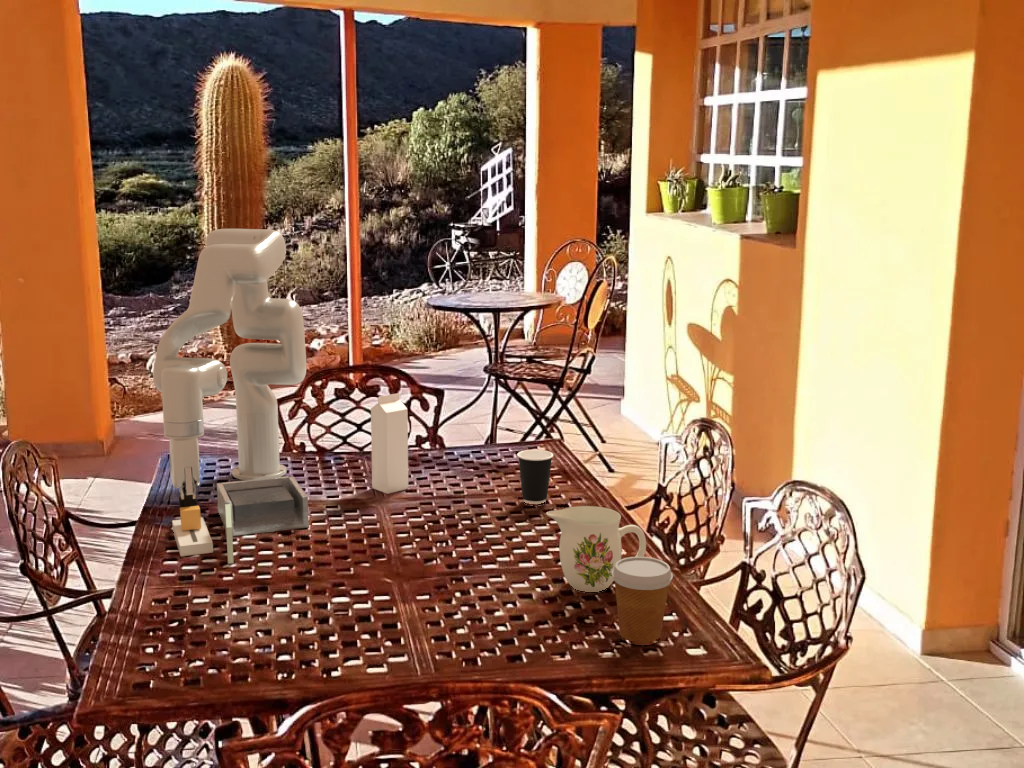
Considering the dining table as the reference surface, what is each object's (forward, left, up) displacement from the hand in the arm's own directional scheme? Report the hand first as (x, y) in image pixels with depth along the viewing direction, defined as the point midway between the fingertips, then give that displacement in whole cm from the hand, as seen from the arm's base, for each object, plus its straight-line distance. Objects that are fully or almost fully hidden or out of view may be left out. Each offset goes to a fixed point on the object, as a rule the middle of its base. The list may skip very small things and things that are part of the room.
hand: (188, 516), depth 217 cm
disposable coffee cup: (+76, +61, -4) cm, 97 cm away
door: (+13, +6, -3) cm, 15 cm away
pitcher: (+54, +64, -4) cm, 84 cm away
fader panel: (+5, 0, -4) cm, 6 cm away
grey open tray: (-3, +15, -4) cm, 16 cm away
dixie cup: (+6, +73, -4) cm, 73 cm away
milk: (-15, +46, -4) cm, 49 cm away
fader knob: (+3, 0, -1) cm, 4 cm away
